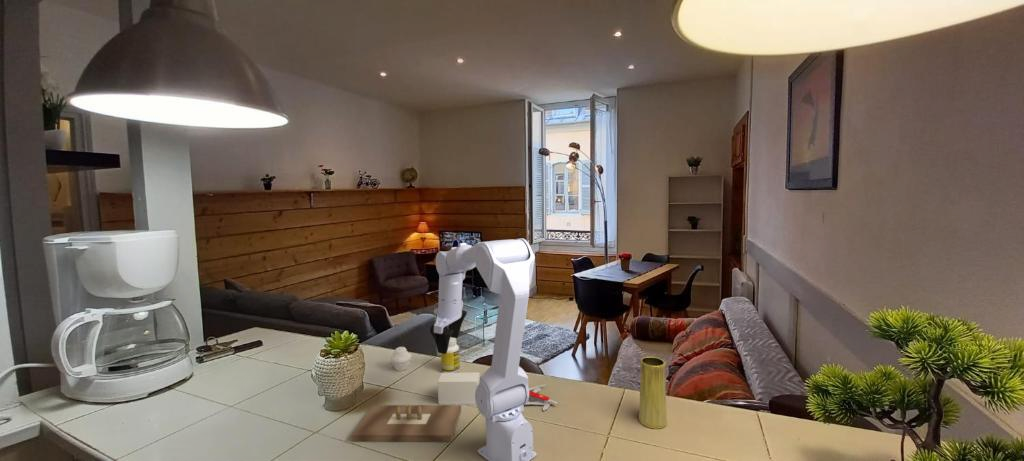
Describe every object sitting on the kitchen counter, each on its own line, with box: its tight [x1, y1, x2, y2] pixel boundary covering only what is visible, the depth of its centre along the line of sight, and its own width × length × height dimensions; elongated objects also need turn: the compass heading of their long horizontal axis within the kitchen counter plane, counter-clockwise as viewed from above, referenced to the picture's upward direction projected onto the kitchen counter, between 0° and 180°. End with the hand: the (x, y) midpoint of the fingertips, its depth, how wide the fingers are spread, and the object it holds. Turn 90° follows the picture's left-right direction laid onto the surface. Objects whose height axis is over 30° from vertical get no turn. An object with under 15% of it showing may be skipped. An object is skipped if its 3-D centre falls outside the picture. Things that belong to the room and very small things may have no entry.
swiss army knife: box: [524, 384, 558, 412], centre depth 100 cm, size 12×14×2 cm
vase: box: [638, 356, 668, 430], centre depth 89 cm, size 6×6×14 cm
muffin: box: [390, 346, 412, 372], centre depth 121 cm, size 6×6×7 cm
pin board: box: [350, 404, 462, 443], centre depth 91 cm, size 22×12×4 cm, turn 87°
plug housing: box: [437, 372, 481, 405], centre depth 102 cm, size 10×5×6 cm, turn 87°
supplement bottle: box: [440, 337, 461, 373], centre depth 119 cm, size 5×5×10 cm
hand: (448, 344), depth 102 cm, fingers open, 7 cm apart
